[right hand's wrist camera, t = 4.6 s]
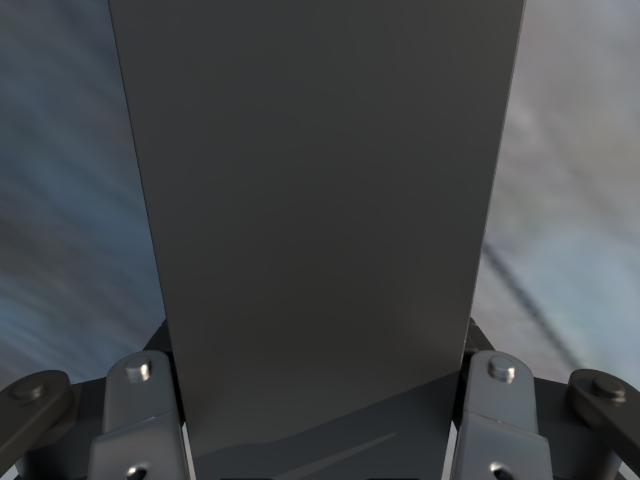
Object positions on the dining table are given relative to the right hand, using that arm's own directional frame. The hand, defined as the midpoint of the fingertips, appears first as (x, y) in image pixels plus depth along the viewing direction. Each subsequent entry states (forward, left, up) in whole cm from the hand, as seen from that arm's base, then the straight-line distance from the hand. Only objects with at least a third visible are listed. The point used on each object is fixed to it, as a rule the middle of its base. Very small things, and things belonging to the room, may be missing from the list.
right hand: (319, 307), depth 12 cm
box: (+9, 0, -8) cm, 12 cm away
